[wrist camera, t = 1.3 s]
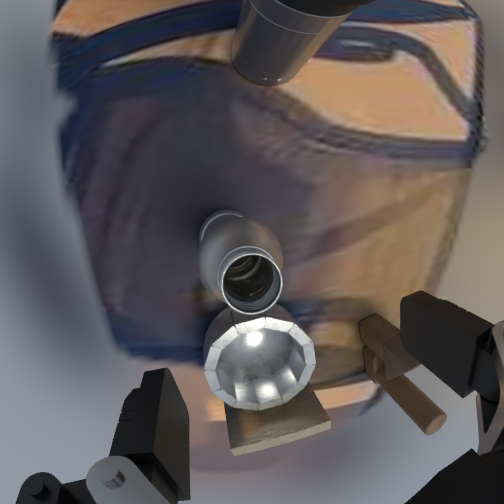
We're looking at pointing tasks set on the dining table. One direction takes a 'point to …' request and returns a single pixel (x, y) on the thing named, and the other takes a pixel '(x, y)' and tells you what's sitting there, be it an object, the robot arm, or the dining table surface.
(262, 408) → the ring
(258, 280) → the plastic bottle
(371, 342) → the wooden wedge with rod
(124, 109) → the dining table surface
